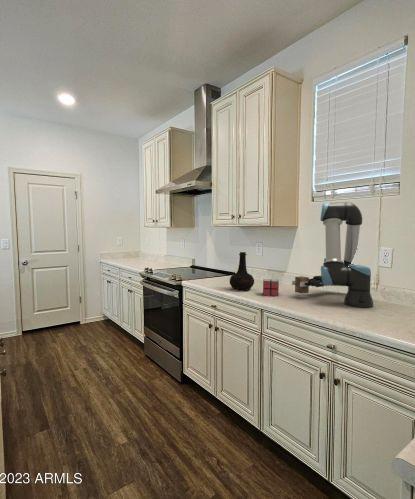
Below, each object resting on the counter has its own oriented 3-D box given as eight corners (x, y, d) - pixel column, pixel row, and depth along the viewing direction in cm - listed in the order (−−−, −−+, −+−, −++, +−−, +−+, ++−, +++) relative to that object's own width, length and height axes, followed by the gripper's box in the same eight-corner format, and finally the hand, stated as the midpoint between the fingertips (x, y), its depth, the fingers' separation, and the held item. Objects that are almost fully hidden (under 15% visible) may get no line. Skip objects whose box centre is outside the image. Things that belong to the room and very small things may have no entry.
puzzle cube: (278, 296, 197) (278, 281, 196) (263, 295, 199) (263, 281, 198) (277, 293, 207) (278, 279, 206) (263, 292, 209) (263, 278, 208)
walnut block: (308, 292, 192) (308, 277, 192) (302, 293, 189) (302, 278, 189) (301, 291, 197) (301, 276, 197) (294, 292, 194) (295, 276, 194)
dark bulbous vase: (224, 289, 220) (224, 252, 219) (239, 286, 233) (240, 250, 231) (243, 293, 208) (244, 253, 206) (258, 289, 220) (259, 252, 219)
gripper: (332, 288, 194) (308, 291, 182) (308, 284, 210) (285, 287, 198) (332, 277, 194) (308, 279, 182) (308, 274, 210) (285, 276, 198)
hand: (296, 283), depth 190 cm, fingers closed on walnut block, 6 cm apart
